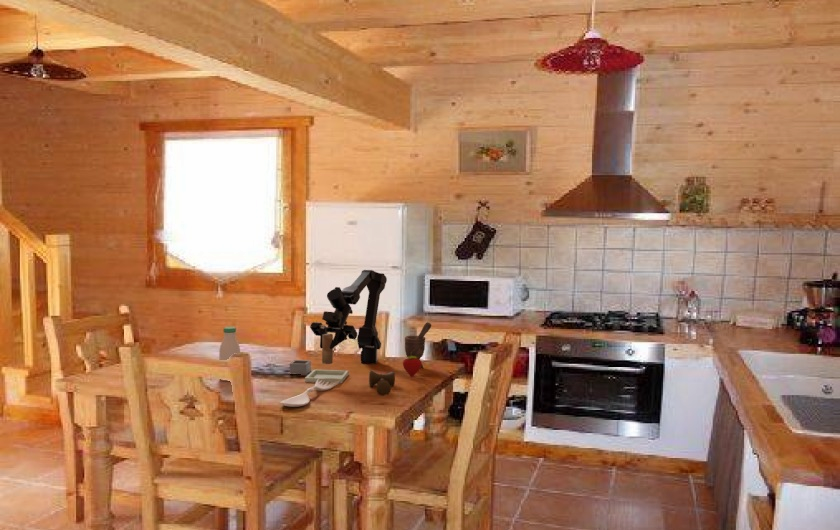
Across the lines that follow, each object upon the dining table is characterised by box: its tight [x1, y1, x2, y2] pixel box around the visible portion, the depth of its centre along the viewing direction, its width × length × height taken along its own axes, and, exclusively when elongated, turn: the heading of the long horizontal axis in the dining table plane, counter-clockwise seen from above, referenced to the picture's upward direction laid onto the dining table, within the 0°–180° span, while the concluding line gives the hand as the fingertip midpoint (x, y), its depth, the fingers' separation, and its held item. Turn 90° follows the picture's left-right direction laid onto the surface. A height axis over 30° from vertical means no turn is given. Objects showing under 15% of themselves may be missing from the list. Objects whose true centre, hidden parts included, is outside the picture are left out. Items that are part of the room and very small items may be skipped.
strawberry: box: [402, 352, 423, 378], centre depth 258 cm, size 6×8×10 cm
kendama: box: [368, 370, 396, 396], centre depth 240 cm, size 6×10×20 cm
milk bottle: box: [218, 326, 241, 382], centre depth 249 cm, size 8×8×20 cm
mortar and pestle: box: [404, 321, 432, 369], centre depth 273 cm, size 12×9×20 cm
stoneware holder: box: [289, 359, 312, 376], centre depth 259 cm, size 7×7×5 cm
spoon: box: [279, 379, 339, 408], centre depth 226 cm, size 9×32×4 cm, turn 163°
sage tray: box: [304, 369, 350, 385], centre depth 251 cm, size 14×14×2 cm
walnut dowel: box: [321, 333, 334, 365], centre depth 251 cm, size 4×4×11 cm
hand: (325, 348), depth 249 cm, fingers closed on walnut dowel, 4 cm apart
